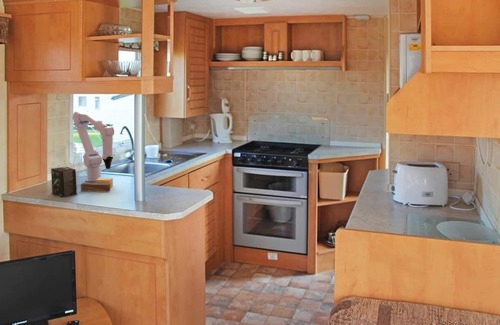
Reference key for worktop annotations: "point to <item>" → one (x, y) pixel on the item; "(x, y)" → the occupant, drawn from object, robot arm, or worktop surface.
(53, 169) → the tampon box
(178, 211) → the worktop surface
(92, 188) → the brown wooden bar
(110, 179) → the block
